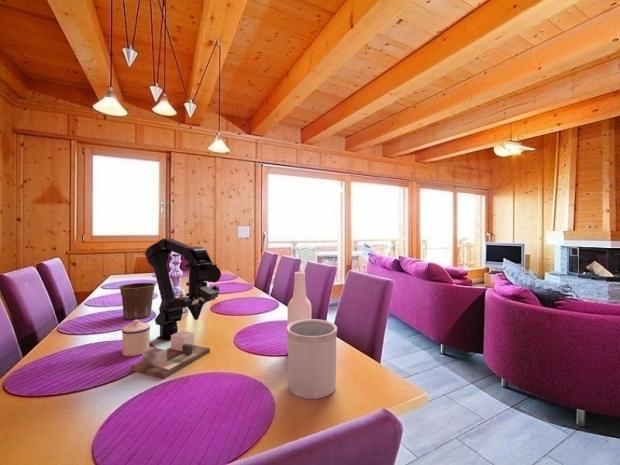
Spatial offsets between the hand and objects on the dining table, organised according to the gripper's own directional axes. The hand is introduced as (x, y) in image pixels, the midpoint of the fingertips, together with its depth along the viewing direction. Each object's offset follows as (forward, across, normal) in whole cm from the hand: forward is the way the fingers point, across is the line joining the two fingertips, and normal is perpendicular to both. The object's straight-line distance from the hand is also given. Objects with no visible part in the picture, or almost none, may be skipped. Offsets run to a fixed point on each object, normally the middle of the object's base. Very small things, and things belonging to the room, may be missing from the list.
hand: (196, 319), depth 113 cm
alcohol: (+10, +8, -40) cm, 42 cm away
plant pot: (+11, +18, +55) cm, 59 cm away
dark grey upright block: (+8, -10, -6) cm, 14 cm away
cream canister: (+10, -12, +18) cm, 24 cm away
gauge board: (+10, -14, -2) cm, 17 cm away
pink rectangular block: (+8, -7, -2) cm, 11 cm away
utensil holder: (+10, -10, -52) cm, 54 cm away
